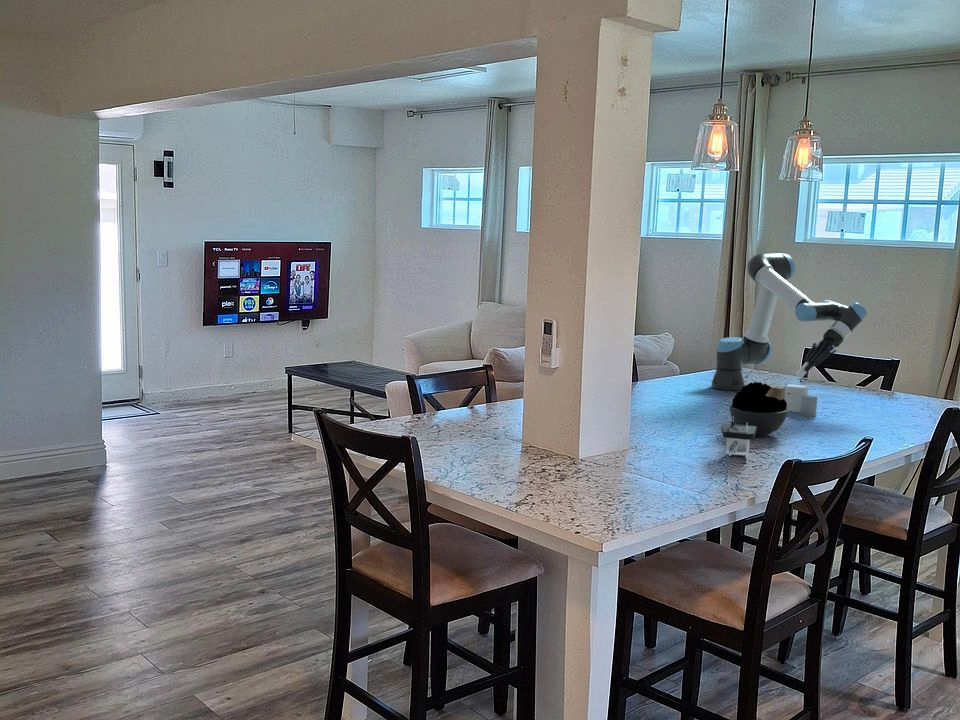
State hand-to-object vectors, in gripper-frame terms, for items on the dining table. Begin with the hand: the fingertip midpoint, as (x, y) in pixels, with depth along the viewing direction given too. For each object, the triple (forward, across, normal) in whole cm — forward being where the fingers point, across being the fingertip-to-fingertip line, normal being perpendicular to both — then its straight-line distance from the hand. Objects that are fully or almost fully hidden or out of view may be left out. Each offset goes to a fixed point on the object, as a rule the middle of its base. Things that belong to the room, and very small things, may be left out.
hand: (798, 376), depth 369 cm
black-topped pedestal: (+57, -64, +35) cm, 93 cm away
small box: (+11, 0, -10) cm, 15 cm away
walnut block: (+12, +12, -9) cm, 19 cm away
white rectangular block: (+12, -10, -9) cm, 18 cm away
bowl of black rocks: (+39, -35, +18) cm, 55 cm away
